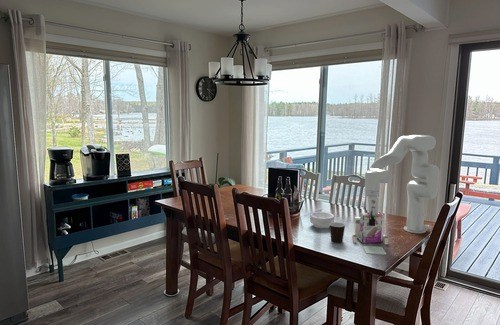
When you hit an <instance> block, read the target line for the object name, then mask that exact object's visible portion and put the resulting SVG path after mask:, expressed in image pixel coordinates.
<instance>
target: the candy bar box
mask: <svg viewBox="0 0 500 325" xmlns="http://www.w3.org/2000/svg"><path fill="white" fill-rule="evenodd" d="M359 217H360V234H359V238H358V240H359V242H361V243H362V244H371V243H372V244H373V243H375V244H376V243H382V231H383V230H382V229H383V214H382V213H380V212H378V214H376V213H375V226H369V219H370V214H369V213H367V212H360V214H359Z"/></svg>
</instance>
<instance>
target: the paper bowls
mask: <svg viewBox="0 0 500 325" xmlns="http://www.w3.org/2000/svg"><path fill="white" fill-rule="evenodd" d="M309 221H310V222H309V223H311V224H312V225H313V226H314V227H315V228H316V229H324V230H325V229H330V223H333V222H335V216H334V214H333V213H330V212H326V211H315V212H312V213H311V212H310V217H309Z"/></svg>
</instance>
